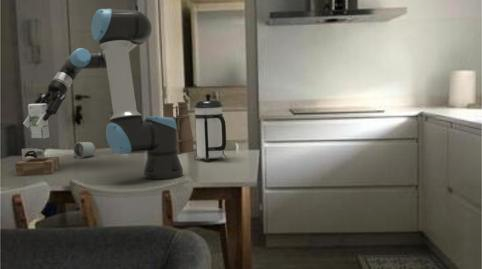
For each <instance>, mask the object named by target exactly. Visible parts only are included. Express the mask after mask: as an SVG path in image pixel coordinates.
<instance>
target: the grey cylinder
mask: <svg viewBox="0 0 482 269" xmlns="http://www.w3.org/2000/svg"><path fill="white" fill-rule="evenodd" d="M95 153H96V146H95V144H94V143H93V142H90V141H84V142H83V141H82V142H81V141H79V142H76V143H75V144H74V146H73V156H74V157H76V158H77V159H83V158H89V157H92V156H94V155H95Z"/></svg>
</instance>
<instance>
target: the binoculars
mask: <svg viewBox="0 0 482 269" xmlns="http://www.w3.org/2000/svg"><path fill="white" fill-rule="evenodd" d="M188 103H189V102H188V101H177V105H175V106H174V104H175V103H174V102H168V103H167V102H165V103H162V105H163V107H162V109H163V117H167V118H173V119H175V121H176V127H177V154H178V155H180V154H181V153H190V152H193V151H194V139H195V138H194V137H193V131H192V126H191V119H190V116H191V115H190V114H188V108H189V106H188ZM174 109H175V116H174Z"/></svg>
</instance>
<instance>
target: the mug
mask: <svg viewBox="0 0 482 269" xmlns="http://www.w3.org/2000/svg"><path fill="white" fill-rule="evenodd" d="M38 153H41V157H40V158H45V152H44V150H43V149H38V148H35V147H29V148H22V149H21V157H22V158H21V160H23V159H25V158H38Z"/></svg>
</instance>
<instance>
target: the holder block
mask: <svg viewBox="0 0 482 269" xmlns="http://www.w3.org/2000/svg"><path fill="white" fill-rule="evenodd" d="M14 166H15V176H19V177H23V176H41V175H53V174H54V173H55V172H57V171H58V170H59V169H60V161H59V156H49V157H48V156H46V157H45V156H44V158H41V157H37V158H25V159H23V160H22V159H21V160H19V161H18V162H16V163H15V165H14Z"/></svg>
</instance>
